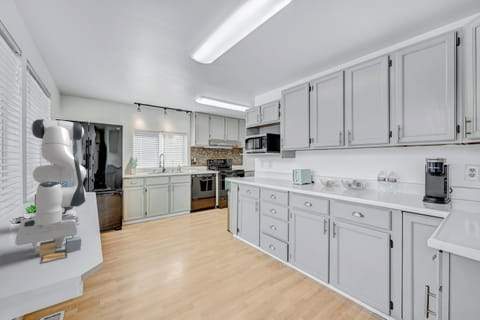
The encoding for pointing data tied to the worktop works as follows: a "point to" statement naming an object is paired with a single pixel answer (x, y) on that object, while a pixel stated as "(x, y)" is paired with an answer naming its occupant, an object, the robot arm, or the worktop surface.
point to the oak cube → (47, 248)
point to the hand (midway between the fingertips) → (48, 249)
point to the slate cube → (73, 244)
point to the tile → (53, 257)
